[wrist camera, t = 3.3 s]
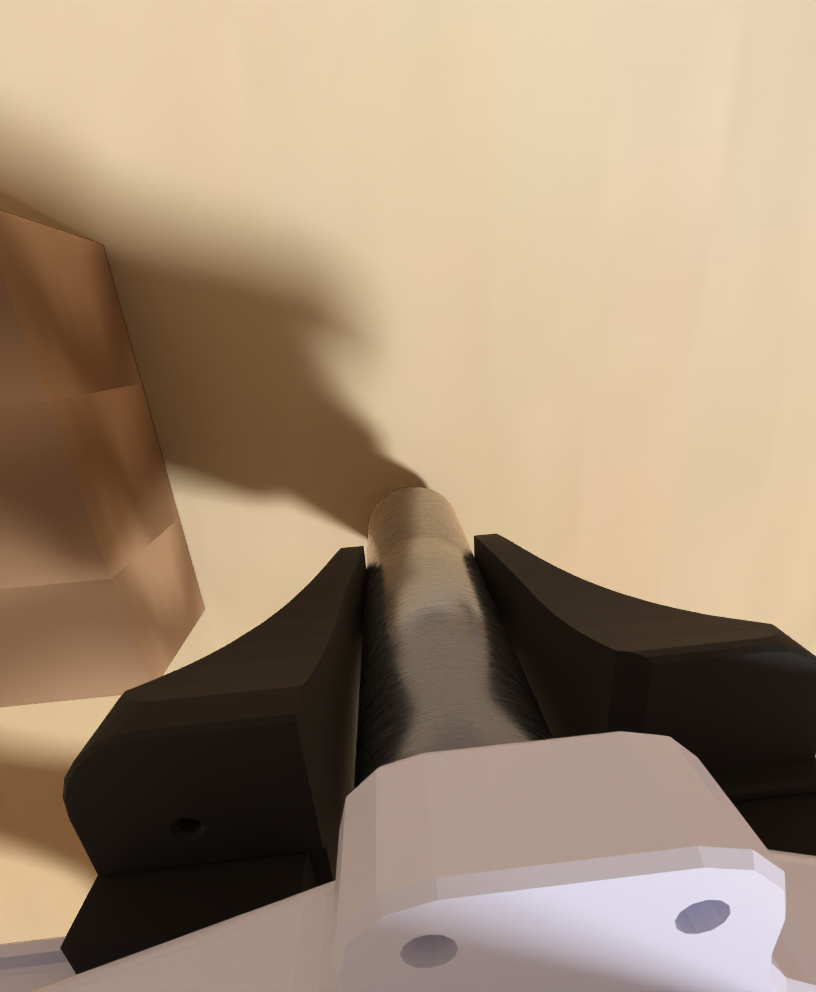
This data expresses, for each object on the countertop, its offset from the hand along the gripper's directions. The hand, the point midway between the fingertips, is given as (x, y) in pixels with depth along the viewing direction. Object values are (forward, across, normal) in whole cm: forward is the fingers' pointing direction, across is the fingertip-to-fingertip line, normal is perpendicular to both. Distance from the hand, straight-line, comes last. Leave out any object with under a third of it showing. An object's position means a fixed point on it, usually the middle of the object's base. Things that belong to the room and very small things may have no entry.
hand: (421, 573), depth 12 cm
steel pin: (+3, 0, 0) cm, 3 cm away
